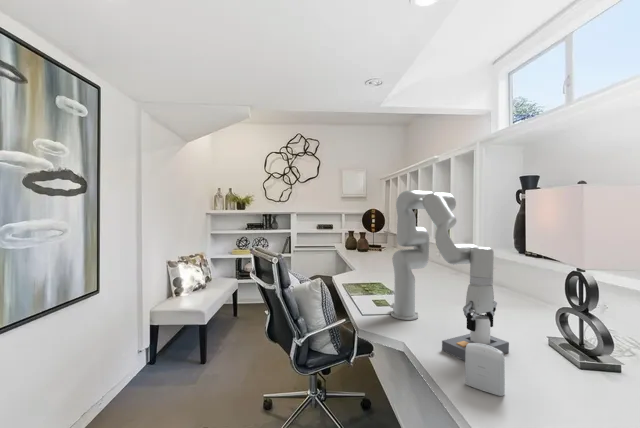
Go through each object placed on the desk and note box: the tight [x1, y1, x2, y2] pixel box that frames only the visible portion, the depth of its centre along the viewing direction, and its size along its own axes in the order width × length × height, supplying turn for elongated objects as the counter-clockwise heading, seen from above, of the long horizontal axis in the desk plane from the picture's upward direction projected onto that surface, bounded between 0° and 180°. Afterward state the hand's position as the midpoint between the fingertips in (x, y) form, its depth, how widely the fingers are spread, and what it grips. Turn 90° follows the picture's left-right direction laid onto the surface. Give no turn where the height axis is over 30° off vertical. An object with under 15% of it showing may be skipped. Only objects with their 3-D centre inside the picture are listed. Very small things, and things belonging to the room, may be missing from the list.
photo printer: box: [464, 343, 506, 397], centre depth 95 cm, size 10×4×12 cm, turn 47°
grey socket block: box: [441, 333, 510, 362], centre depth 120 cm, size 12×20×4 cm, turn 118°
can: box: [469, 313, 491, 345], centre depth 121 cm, size 6×6×12 cm
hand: (479, 327), depth 122 cm, fingers open, 9 cm apart
